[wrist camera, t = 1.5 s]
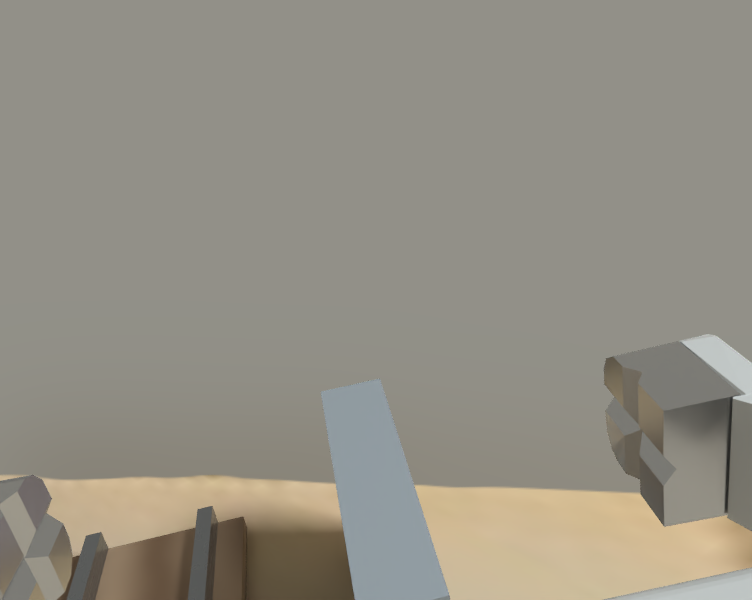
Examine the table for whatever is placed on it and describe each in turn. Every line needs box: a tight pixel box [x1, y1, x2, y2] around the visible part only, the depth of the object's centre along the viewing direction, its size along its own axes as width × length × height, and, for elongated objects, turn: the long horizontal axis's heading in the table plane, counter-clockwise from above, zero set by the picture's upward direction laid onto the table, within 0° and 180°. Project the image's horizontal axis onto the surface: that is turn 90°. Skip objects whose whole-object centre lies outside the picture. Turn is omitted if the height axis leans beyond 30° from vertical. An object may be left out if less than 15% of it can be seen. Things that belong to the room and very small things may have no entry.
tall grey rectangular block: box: [321, 379, 450, 600], centre depth 36 cm, size 4×16×12 cm, turn 9°
